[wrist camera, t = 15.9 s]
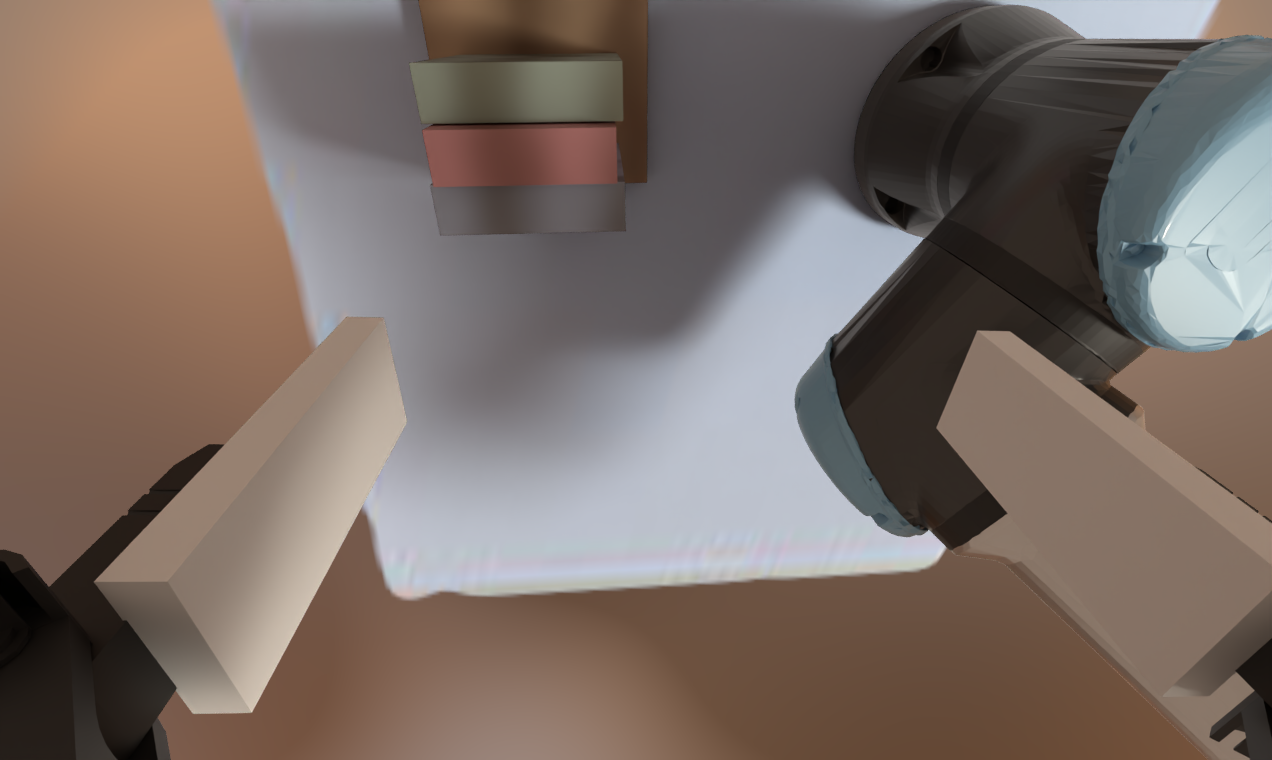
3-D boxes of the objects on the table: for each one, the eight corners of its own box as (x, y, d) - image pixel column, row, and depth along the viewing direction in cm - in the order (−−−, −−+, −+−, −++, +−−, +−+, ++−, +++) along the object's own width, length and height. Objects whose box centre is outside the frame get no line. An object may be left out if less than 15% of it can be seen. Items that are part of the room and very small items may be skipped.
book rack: (646, -226, 29) (676, -396, 18) (645, 177, 41) (663, 236, 29) (383, -230, 29) (235, -408, 17) (457, 181, 40) (398, 242, 28)
